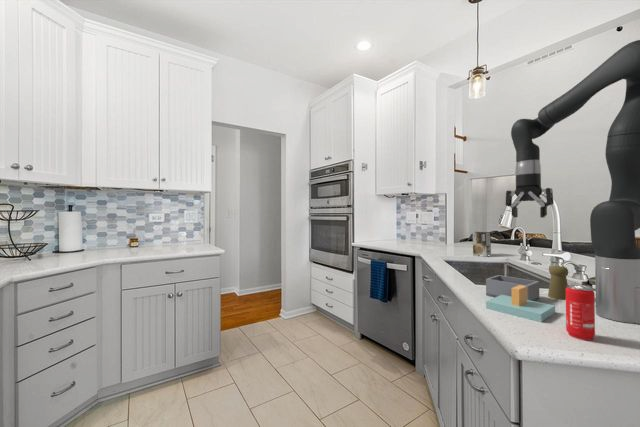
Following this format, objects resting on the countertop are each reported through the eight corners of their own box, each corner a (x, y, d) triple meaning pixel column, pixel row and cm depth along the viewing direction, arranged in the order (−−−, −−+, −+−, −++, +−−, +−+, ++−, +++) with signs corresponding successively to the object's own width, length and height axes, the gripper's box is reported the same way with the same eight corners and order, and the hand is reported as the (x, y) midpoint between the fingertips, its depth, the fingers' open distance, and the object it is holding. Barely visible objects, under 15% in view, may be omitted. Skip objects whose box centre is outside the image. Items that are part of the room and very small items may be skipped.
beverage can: (572, 339, 67) (571, 289, 67) (562, 330, 72) (561, 283, 72) (600, 342, 65) (599, 291, 65) (588, 333, 70) (587, 285, 70)
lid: (555, 312, 84) (554, 289, 84) (541, 322, 78) (540, 296, 78) (502, 301, 96) (501, 280, 96) (486, 308, 90) (485, 285, 90)
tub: (539, 298, 98) (539, 281, 98) (528, 304, 92) (527, 286, 92) (498, 290, 108) (498, 274, 108) (486, 295, 103) (485, 278, 103)
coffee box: (491, 256, 188) (491, 231, 188) (486, 257, 184) (486, 232, 184) (477, 254, 196) (477, 231, 195) (472, 255, 192) (472, 231, 192)
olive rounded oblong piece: (574, 300, 95) (574, 268, 95) (554, 299, 97) (553, 267, 97) (563, 295, 101) (562, 264, 101) (544, 294, 103) (543, 264, 102)
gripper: (555, 171, 100) (556, 217, 101) (510, 176, 112) (511, 217, 112) (548, 170, 96) (548, 217, 96) (502, 175, 108) (502, 217, 108)
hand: (528, 217), depth 104 cm, fingers open, 8 cm apart
